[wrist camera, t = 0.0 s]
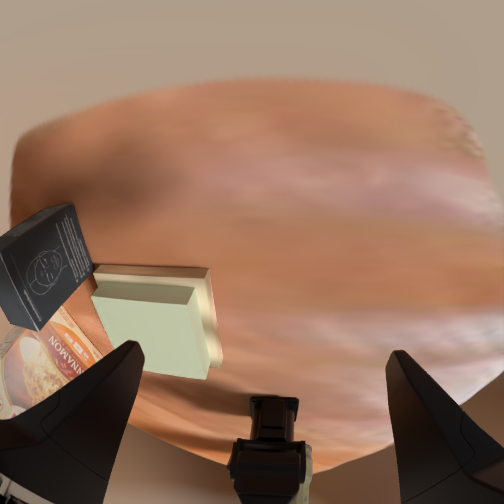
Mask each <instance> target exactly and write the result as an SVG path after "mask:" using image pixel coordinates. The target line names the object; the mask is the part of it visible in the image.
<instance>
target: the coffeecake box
mask: <svg viewBox="0 0 504 504" xmlns="http://www.w3.org/2000/svg"><path fill="white" fill-rule="evenodd" d="M102 358H103V356H102V355H101V353H100V352H99V351H98V350H97V349H96V348H95V347H94V345H93V344H92V343H91V342H90V341H89V339H88V338H87V337H86V336H85V335H84V333H83V332H82V331H81V329H80V328H79V327H78V326H77V324H76V323H75V322H74V320H73V319H72V318H71V316H70V315H69V314H68V312H67V311H66V310H65V308H64V307H63V305H62V306H61V307H60V308H59V309H58V310H57V311H56V313H55V314H54V315H53V316H52V317H51V319H50V320H49V321H48V322H47V323H46V325H45V326H44V327H43V328H42V329H41V331H39V332H36V331H33V330H29V329H26V328H22V327H19V326H15V327H14V328H13V329H12V330H11V332H10V333H9V334H8V335H7V336H6V337H5V339H4V340H3V341H2V342H1V343H0V419H10V418H13V417H15V416H17V415H19V414H20V413H22V412H24V411H26V410H27V409H29V408H31V407H33V406H34V405H36V404H38V403H39V402H41V401H43V400H44V399H46V398H47V397H49V396H50V395H52V394H53V393H54V392H56V391H57V390H59V389H61V388H62V387H63V386H64V385H66V384H67V383H68V382H70V381H71V380H73V379H74V378H75V377H77V376H78V375H80V374H81V373H82V372H84V371H85V370H86V369H88V368H89V367H91V366H92V365H93V364H95V363H96V362H98V361H99V360H100V359H102Z"/></svg>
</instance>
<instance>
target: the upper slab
mask: <svg viewBox="0 0 504 504" xmlns="http://www.w3.org/2000/svg"><path fill="white" fill-rule="evenodd" d="M91 298H92V300H93V303H94V305H95V308H96V310H97V313H98V315H99V317H100V320H101V322H102V324H103V326H104V329H105V331H106V333H107V335H108V337H109V339H110V341H111V344H112V346H113V348H114V349H116V348H117V347H118V346H120V345H121V344H123V343H124V342H125V341H127V340H134V341H138V342H139V344H140V346H141V348H142V351H143V353H144V356H145V363H144V367H143V370H144V371H149V372H155V373H161V374H167V375H173V376H180V377H187V378H195V379H204V380H206V377H207V373H208V370H209V366H210V363H211V362H210V357H209V353H208V348H207V344H206V339H205V334H204V330H203V325H202V320H201V315H200V310H199V305H198V300H197V295H196V289H195V287H176V286H158V285H142V284H127V283H114V282H103V283H102V284H101V285H100V286H99V287H98V288H97V289H96V291H95V292H94V293H93V294H92V295H91Z"/></svg>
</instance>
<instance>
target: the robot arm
mask: <svg viewBox="0 0 504 504" xmlns="http://www.w3.org/2000/svg"><path fill="white" fill-rule="evenodd" d="M144 363H145V356H144V353H143V351H142V348H141V346H140V344H139V342H138V341H134V340H127V341H125V342H124V343H123V344H121V345H120V346H118V347H117V348H116V349H114V350H113V351H111V352H110V353H109V354H107V355H106V356H105V357H103V358H102V359H100V360H99V361H98V362H96V363H95V364H93V365H92V366H91V367H89V368H88V369H86V370H85V371H84V372H82V373H81V374H80V375H78V376H77V377H75V378H74V379H73V380H71V381H70V382H68V383H67V384H66V385H64V386H63V387H62V388H61V389H59V390H57V391H56V392H54V393H53V394H52V395H50V396H49V397H47V398H46V399H44V400H43V401H41V402H39V403H38V404H36V405H34V406H33V407H31V408H29V409H27V410H26V411H24V412H22V413H20V414H19V415H17V416H15V417H13V418H10V419H0V504H103V500H104V497H105V493H106V489H107V486H108V481H109V478H110V475H111V471H112V468H113V465H114V462H115V458H116V455H117V452H118V449H119V446H120V442H121V439H122V436H123V433H124V430H125V427H126V424H127V421H128V418H129V416H130V413H131V410H132V407H133V404H134V401H135V398H136V395H137V392H138V387H139V383H140V379H141V375H142V371H143V367H144ZM386 381H387V393H388V405H389V413H390V419H391V424H392V430H393V437H394V443H395V450H396V457H397V466H398V474H399V483H400V496H401V504H504V448H503V447H502V446H501V445H500V444H499V443H498V442H497V441H495V440H494V439H493V438H492V437H491V436H490V435H488V434H487V433H486V432H485V431H484V430H483V429H482V428H481V427H480V426H478V425H477V424H476V423H475V422H474V421H473V420H472V419H471V418H470V417H469V416H468V414H467V413H465V411H463V409H462V408H461V407H460V406H459V405H458V404H457V403H456V402H455V401H454V400H453V399H452V398H451V397H450V396H449V395H448V394H447V393H446V392H445V391H444V390H443V389H442V387H441V386H440V385H439V384H438V383H437V382H436V381H435V380H434V379H433V378H432V377H431V376H430V375H429V374H428V373H427V372H426V371H425V370H424V369H423V368H422V367H421V366H420V365H419V364H418V363H417V362H416V361H415V360H414V359H413V358H412V357H411V356H410V355H409V354H408V353H407V352H406V351H404V350H394V351H393V352H392V353H391V355H390V358H389V360H388V362H387V365H386ZM298 405H299V399H292V398H260V397H251V398H250V409H251V419H252V426H251V434H250V440H247V439H242V438H238V439H237V442H234V443H233V449H232V454H231V456H230V459H229V462H228V464H227V470H228V471H229V472H230V477H231V480H232V481H234V489H235V492H236V494H237V497H238V499H239V500H240V503H241V504H292V503H293V501H294V500H295V498H296V496H297V494H298V492H299V489H300V484H304V482H305V477H306V446H305V441H294V422H295V421H296V417H297V411H298Z"/></svg>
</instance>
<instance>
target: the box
mask: <svg viewBox="0 0 504 504" xmlns="http://www.w3.org/2000/svg"><path fill="white" fill-rule="evenodd" d="M93 271H94V266H93V264H92V261H91V258H90V256H89V253H88V250H87V247H86V244H85V241H84V238H83V235H82V232H81V229H80V226H79V223H78V219H77V216H76V213H75V209H74V206H73V203H70V204H65V205H60V206H56V207H51V208H47V209H43V210H40V211H39V212H37V213H35V214H34V215H32V216H31V217H29V218H27V219H26V220H24V221H23V222H21V223H20V224H18V225H17V226H15V227H14V228H12V229H11V230H9V231H8V232H7V233H5V234H3V235H2V236H1V237H0V306H1V308H2V310H3V312H4V313H5V315H6V317H7V319H8V321H9V322H10V324H13V325H16V326H19V327H22V328H26V329H29V330H33V331H36V332H39V331H41V329H42V328H43V327H44V326H45V325H46V323H47V322H48V321H49V320H50V319H51V317H52V316H53V315H54V314H55V313H56V311H57V310H58V309H59V308H60V307H61V306H62V305H63V303H64V302H65V301H66V300H67V299H68V298H69V297H70V296H71V294H72V293H73V292H74V291H75V290H76V289H77V288H78V287H79V286H80V285H81V283H82V282H83V281H84V280H85V279H86V278H87V277H88V276H89V275H90V274H91V273H92V272H93Z"/></svg>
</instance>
